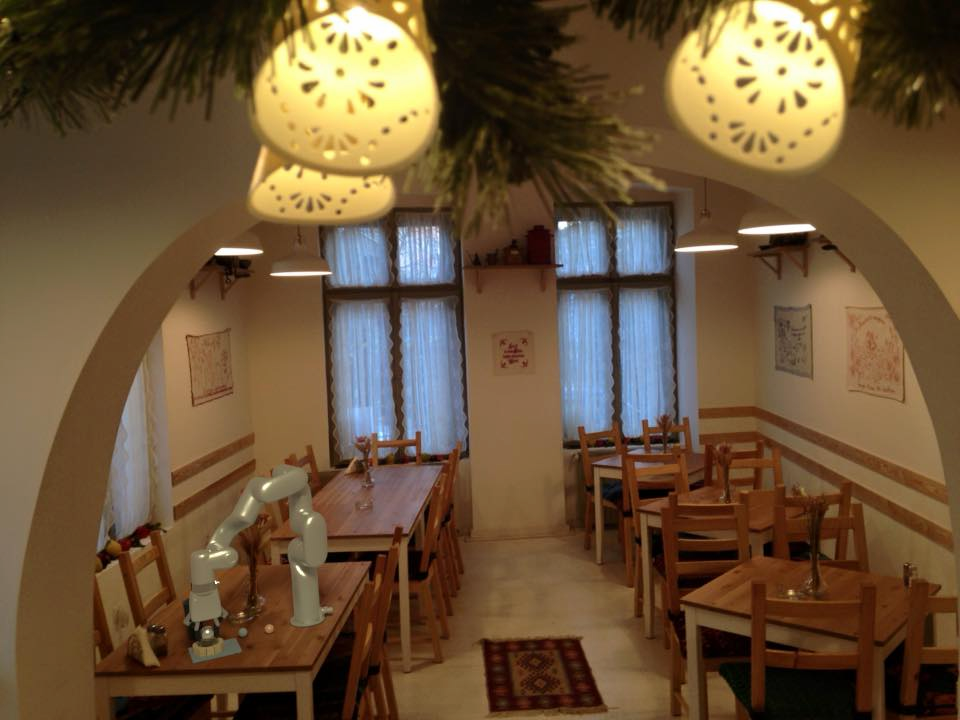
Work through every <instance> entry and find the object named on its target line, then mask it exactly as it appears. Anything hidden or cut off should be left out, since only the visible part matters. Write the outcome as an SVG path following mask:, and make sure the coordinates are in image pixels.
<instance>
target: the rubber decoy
mask: <svg viewBox="0 0 960 720" xmlns="http://www.w3.org/2000/svg"><path fill="white" fill-rule="evenodd" d="M237 633H238V636H239V637H240V638H245V637H246V636H247V635H248V630H247V628H245V627H241V628H239V629H238V632H237Z"/></svg>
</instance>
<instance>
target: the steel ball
mask: <svg viewBox="0 0 960 720" xmlns="http://www.w3.org/2000/svg"><path fill="white" fill-rule="evenodd" d="M214 635H215V631H214V627H213V626H211V625H206V626H203V628H202V629H201V631H200V637H201V639H202V640H203V641H210V640H212V639H213V637H215V636H214Z"/></svg>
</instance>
